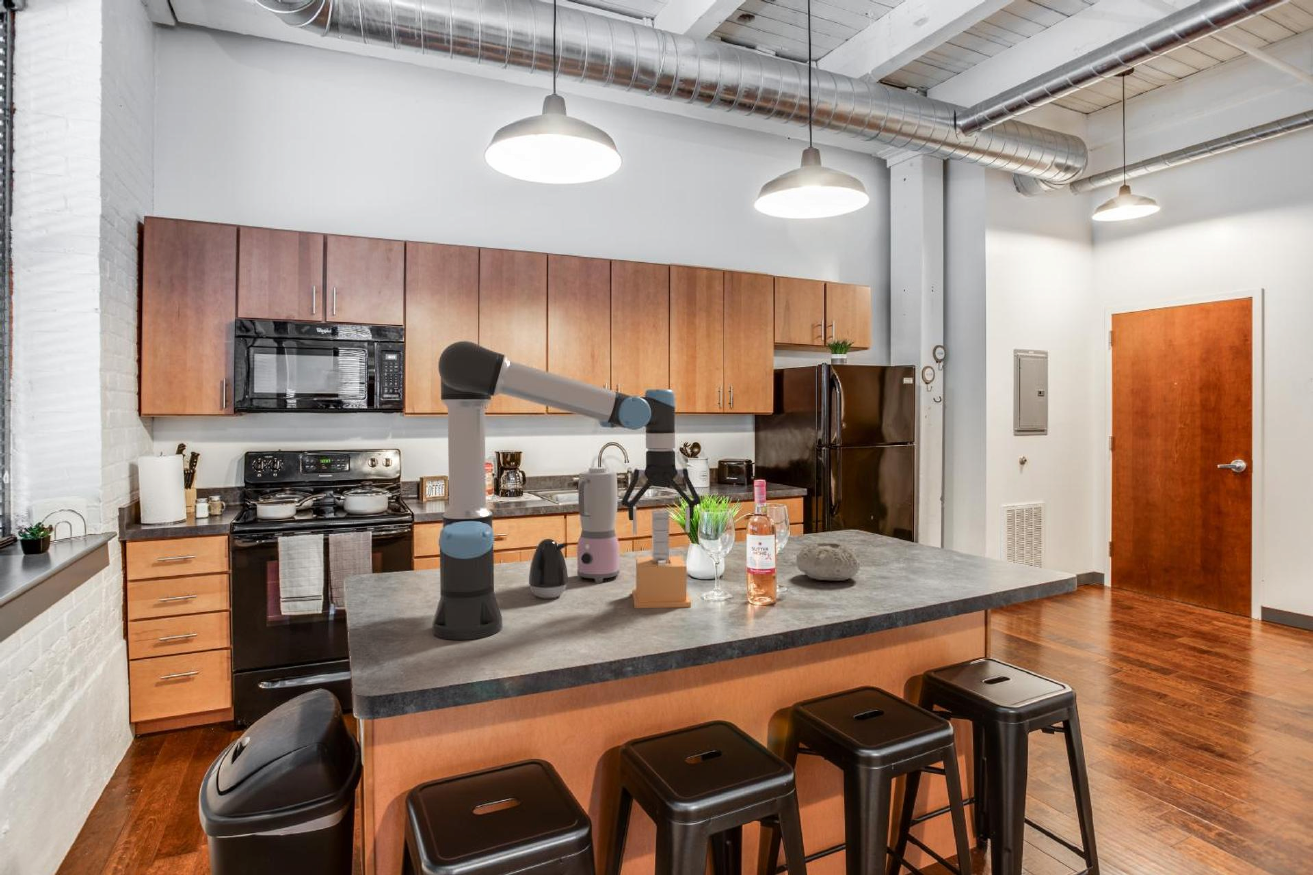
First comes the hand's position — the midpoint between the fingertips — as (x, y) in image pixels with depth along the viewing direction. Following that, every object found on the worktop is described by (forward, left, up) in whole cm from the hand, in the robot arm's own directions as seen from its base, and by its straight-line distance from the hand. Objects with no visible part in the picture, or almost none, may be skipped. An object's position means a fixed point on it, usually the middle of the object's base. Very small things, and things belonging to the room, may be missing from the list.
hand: (661, 532), depth 185 cm
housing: (0, 0, -18) cm, 18 cm away
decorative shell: (+19, -50, -18) cm, 56 cm away
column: (0, 0, -16) cm, 16 cm away
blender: (+24, +17, -18) cm, 34 cm away
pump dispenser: (+6, +29, -18) cm, 35 cm away
